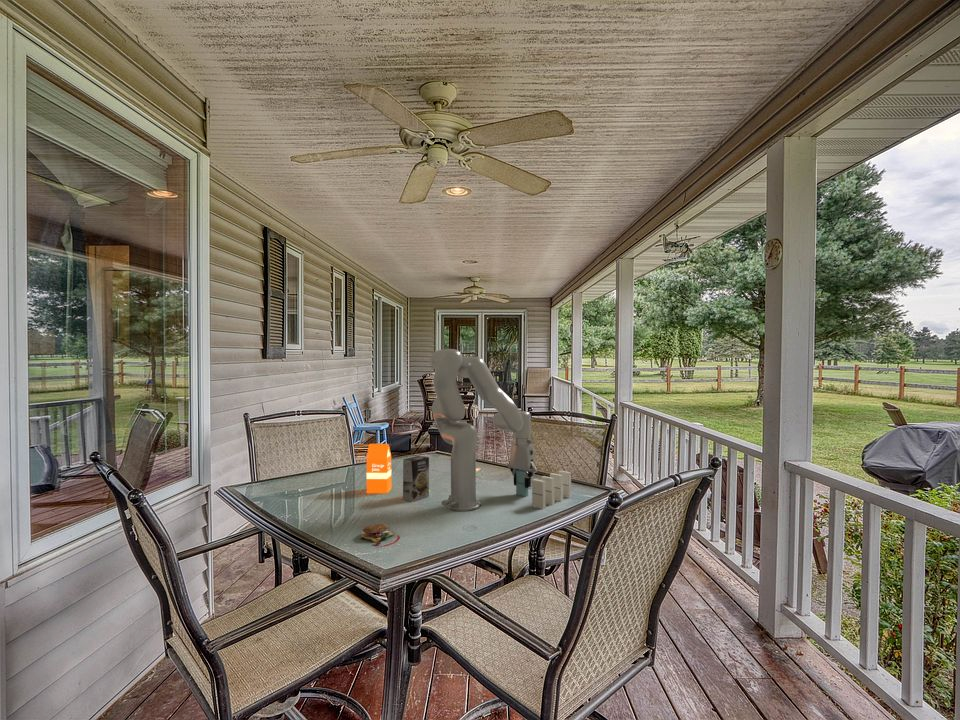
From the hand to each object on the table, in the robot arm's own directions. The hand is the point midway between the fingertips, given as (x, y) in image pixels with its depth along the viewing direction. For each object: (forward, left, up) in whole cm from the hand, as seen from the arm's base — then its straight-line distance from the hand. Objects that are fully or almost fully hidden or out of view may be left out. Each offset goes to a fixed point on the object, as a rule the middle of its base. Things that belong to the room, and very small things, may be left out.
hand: (522, 485), depth 184 cm
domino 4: (+4, -14, -4) cm, 15 cm away
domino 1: (0, 0, -4) cm, 4 cm away
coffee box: (-31, +30, -4) cm, 43 cm away
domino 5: (+10, -14, -4) cm, 18 cm away
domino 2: (-8, -14, -4) cm, 17 cm away
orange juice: (-35, +50, -4) cm, 61 cm away
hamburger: (-67, +5, -5) cm, 67 cm away
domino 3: (-2, -14, -4) cm, 15 cm away
